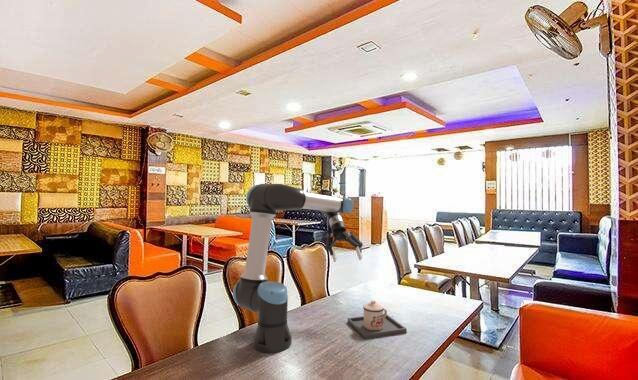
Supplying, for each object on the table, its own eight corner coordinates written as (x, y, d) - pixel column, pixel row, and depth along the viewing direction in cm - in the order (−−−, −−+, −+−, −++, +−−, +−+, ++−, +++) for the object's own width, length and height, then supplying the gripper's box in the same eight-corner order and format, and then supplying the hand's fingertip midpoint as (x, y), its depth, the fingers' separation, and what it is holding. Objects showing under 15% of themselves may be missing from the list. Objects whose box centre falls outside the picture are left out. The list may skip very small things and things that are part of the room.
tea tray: (364, 339, 131) (364, 334, 131) (347, 322, 148) (347, 318, 148) (406, 332, 137) (406, 328, 137) (385, 317, 154) (385, 313, 154)
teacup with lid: (371, 332, 135) (371, 305, 135) (359, 325, 143) (359, 299, 143) (393, 327, 141) (393, 301, 141) (379, 320, 149) (379, 295, 149)
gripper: (356, 229, 176) (368, 262, 162) (313, 231, 169) (322, 265, 154) (360, 220, 171) (373, 253, 157) (316, 221, 164) (325, 256, 149)
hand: (348, 259), depth 155 cm, fingers open, 13 cm apart
